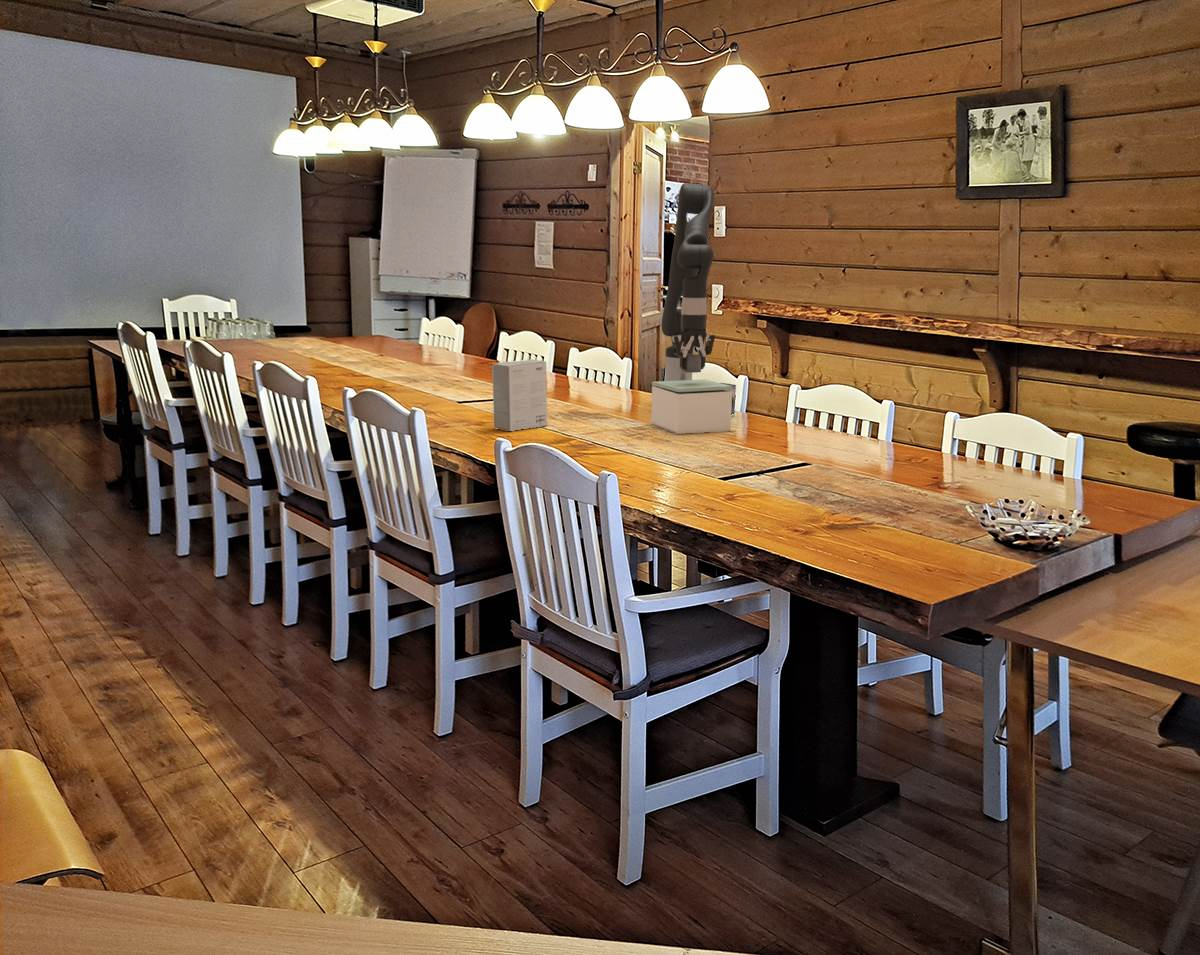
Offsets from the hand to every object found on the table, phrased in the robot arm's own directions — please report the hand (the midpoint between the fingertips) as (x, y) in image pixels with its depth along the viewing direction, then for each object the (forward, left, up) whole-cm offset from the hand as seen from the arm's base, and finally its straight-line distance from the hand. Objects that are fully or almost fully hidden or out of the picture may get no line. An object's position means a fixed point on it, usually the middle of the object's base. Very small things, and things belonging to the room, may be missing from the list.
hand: (692, 369), depth 321 cm
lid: (0, 0, -5) cm, 5 cm away
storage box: (0, 0, -18) cm, 18 cm away
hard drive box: (-17, -49, -18) cm, 55 cm away
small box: (-15, +18, -18) cm, 30 cm away
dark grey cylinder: (0, 0, -1) cm, 1 cm away
